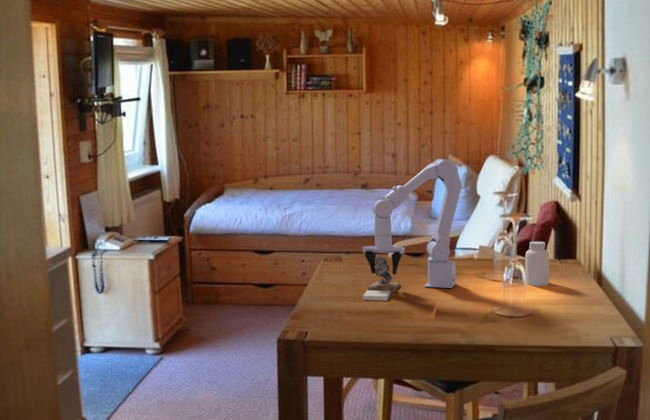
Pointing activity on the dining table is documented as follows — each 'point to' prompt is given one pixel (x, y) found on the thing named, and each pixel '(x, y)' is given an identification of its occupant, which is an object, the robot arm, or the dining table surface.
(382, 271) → the seashell
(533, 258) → the pill bottle
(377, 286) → the walnut base
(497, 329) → the dining table surface
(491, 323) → the dining table surface
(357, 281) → the dining table surface
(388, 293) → the ceramic tile
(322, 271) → the dining table surface
